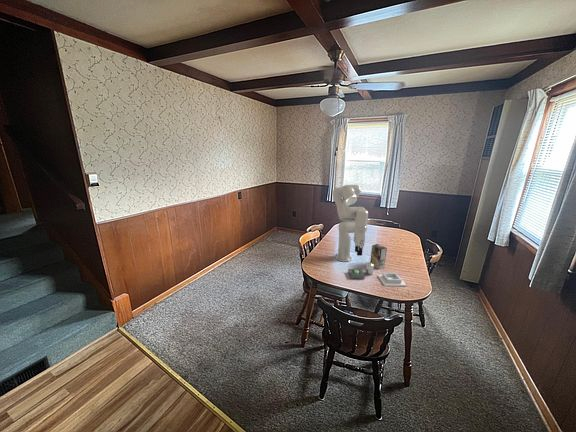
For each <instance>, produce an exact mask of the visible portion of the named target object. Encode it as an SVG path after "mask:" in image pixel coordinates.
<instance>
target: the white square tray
mask: <svg viewBox="0 0 576 432" xmlns="http://www.w3.org/2000/svg"><path fill="white" fill-rule="evenodd" d="M377 277H378V279H379V280H380V282H381V284H383V286H385V287H386V286H387V287H406V286H407V284H406V283H405V281H404V280H403V279H402V278H401V277H400V275H398V274H397V272H382V274H377Z"/></svg>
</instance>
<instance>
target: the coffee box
mask: <svg viewBox="0 0 576 432" xmlns="http://www.w3.org/2000/svg"><path fill="white" fill-rule="evenodd" d="M387 249H388V247H386V246H383V245H380V244H379V243H376V244H373V245H371V250H370V251H371V253H370V261H369V262H371V263H373V264H374V268H376V269H378V270H382V269H384V268H385V266H386V260H387V258H386V257H387V251H388V250H387Z"/></svg>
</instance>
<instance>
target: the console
mask: <svg viewBox="0 0 576 432" xmlns="http://www.w3.org/2000/svg"><path fill="white" fill-rule="evenodd" d="M354 270H358V271H359V274H354ZM347 273H348V275H349V278H350V279H351V280H365V278H366V274H365V273H364V271H363V270H362V269H361V268H348V270H347Z"/></svg>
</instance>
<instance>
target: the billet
mask: <svg viewBox="0 0 576 432" xmlns="http://www.w3.org/2000/svg"><path fill="white" fill-rule="evenodd" d="M374 268H375V267H374V264H373V263H371V262H370V261H368V262H366V265H365V273H364V275H365V276H370V277H371V276H373V275H374Z"/></svg>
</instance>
